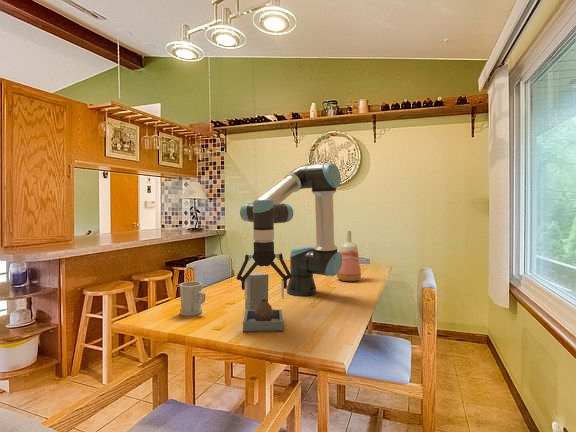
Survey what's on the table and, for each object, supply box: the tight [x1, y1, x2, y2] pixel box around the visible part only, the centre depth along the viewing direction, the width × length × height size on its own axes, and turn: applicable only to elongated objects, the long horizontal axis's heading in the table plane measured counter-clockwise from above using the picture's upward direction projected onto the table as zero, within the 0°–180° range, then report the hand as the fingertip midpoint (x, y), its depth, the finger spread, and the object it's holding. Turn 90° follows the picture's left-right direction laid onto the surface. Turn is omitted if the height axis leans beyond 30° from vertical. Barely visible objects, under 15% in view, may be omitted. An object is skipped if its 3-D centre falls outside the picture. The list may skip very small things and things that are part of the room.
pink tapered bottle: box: [336, 230, 362, 283], centre depth 199 cm, size 14×14×30 cm
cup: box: [179, 281, 206, 317], centre depth 136 cm, size 10×9×12 cm
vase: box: [254, 299, 274, 321], centre depth 123 cm, size 7×7×9 cm
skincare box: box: [244, 272, 269, 311], centre depth 140 cm, size 8×7×16 cm
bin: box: [242, 308, 284, 333], centre depth 123 cm, size 14×14×4 cm
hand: (264, 297), depth 123 cm, fingers open, 13 cm apart
